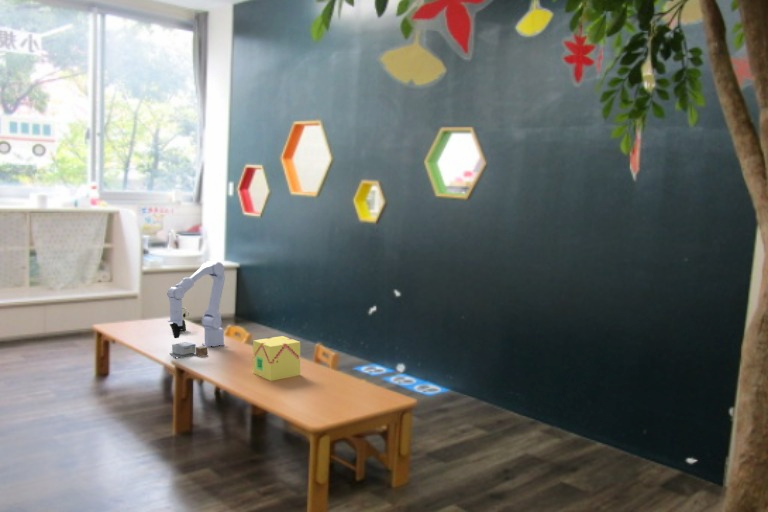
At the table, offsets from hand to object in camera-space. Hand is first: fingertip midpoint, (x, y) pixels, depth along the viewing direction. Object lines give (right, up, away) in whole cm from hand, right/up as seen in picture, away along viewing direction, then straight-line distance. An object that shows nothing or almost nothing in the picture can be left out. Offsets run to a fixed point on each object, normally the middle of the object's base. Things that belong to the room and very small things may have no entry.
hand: (176, 337), depth 323 cm
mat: (+4, -8, -4) cm, 10 cm away
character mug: (-14, -3, +51) cm, 53 cm away
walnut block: (+14, -8, -4) cm, 16 cm away
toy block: (+56, -12, -36) cm, 68 cm away
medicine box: (+1, -5, +1) cm, 5 cm away
